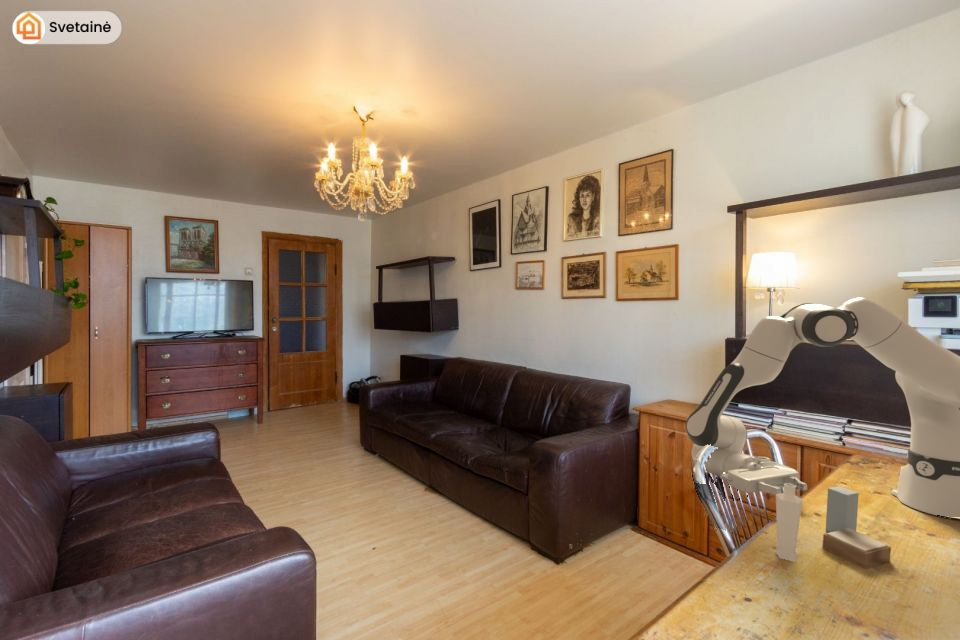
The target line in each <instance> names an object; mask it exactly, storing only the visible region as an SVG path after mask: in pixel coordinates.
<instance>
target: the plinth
mask: <svg viewBox="0 0 960 640" xmlns="http://www.w3.org/2000/svg"><path fill="white" fill-rule="evenodd" d="M822 536H823V537H822V548H823V549H825V550H827V551H829V552H831V553H833V554H835V555H837V556H839V557H841V558H843V559H845V560H847V561H849V562H852V563H853V564H856V565H857V566H859V567H862V568H863V569H868V568H871V567H875V566H879V565H881V564H885V563H888V562H890V561H891V552H892V551H891V549H892V547H891V546H890V545H888V544H886V543H884V542H881V541H879V540H876V539H875V538H872V537H870V536H868V535H865V534H863V533H861V532H859V531H857V530H856V531H854V530H851V529H849V528H847V529H843V530H838V531H834V532H826V533H823V535H822Z"/></svg>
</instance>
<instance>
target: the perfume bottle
mask: <svg viewBox="0 0 960 640" xmlns="http://www.w3.org/2000/svg"><path fill="white" fill-rule="evenodd" d="M802 505H803V499H802V498H800V497H799V496H797V495H796V485H793V484H790V483H784V487H783V492H781V493H780V494H776V495H775V506H776V507H775V508H776V509H775V511H776V515H775V516H776V539H777V541H776V543H777V544H776V545H777V546H776V547H775V552H774V553H775V555H776V556H777V555H778V556H777V557H778V558H779V559H781V560H784V559H785V560H786V561H788V560H789V562H792V563H794V562H796V561H797V560H798V555H797V550H796V549H797V543H798V534H799V527H800V520H801V513H802ZM785 560H784V561H785Z"/></svg>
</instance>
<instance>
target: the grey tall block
mask: <svg viewBox="0 0 960 640" xmlns="http://www.w3.org/2000/svg"><path fill="white" fill-rule="evenodd" d="M859 495H860V494H859V492H857V491H855V490H851V489H849V488H846V487H843V486H839V485H836V486H832V487H828V488H827V500H826V517H825V519H826V520H825V531H826V532H827V533H830V532H834V531H838V530H843V529H847V528H849V529H851V530H854V531H856V532H857V526H858V508H859V507H858V506H859Z"/></svg>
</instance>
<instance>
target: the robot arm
mask: <svg viewBox="0 0 960 640" xmlns="http://www.w3.org/2000/svg"><path fill="white" fill-rule="evenodd" d="M849 339H851V340H853V341H854V343H856V344H857V345H858V346H860V347H861V348H863V349H864V351H866V352H868V353H869V354H870V355H871V356H873V357H874V358H875V359H876V360H877V361H879V362H880V363H882V364H883V365H884V366H886V367H887V368H889V369H891V370H892V371H894V372H895V373H894V374H895V377H894V378H895V381H896V383H897V384H898V386H899V387H900V388H901V390H902V392H903V394H904V396H905V400H906V403H907V408H908V411H909V416H910V424H911V425H910V443H909V444H910V446H909V449H907V453H906V463H907V464H906V465H903V466H901V467H900V472H899V478H898V484H897V489H892V490H891V495H893V496H895V497H896V498H897V500H898V501H900V502H901V503H902V504H904V505H906V506H907V507H910V508H912V509H915V510H917V511H920V512H924V513H927V514H930V515H933V516H937V515H940V516H939V517H941V516H949V517H960V355H959V354H956V353H955V352H953V351H951V350H949V349H947V348H945V347H944V346H942V345H940V344H938V343H936V342H934V341H932V340H931V339H929V338H928V337H926V336H924V334H922V333H920V332H919V331H918V330H917V329H915V327H913V326H911V325H910V324H909V323H907V322H906V321H904V319H902V318H901V317H900V316H898V315H896V314H895V313H894V312H892V311H891V310H889V309H888V308H886V307H885V306H883V305H881V304H879V303H877V302H875V301H874V300H871V299H869V298H867V297H866V298H865V297H856V298H851V299H849V300H847V301H845V302H844V303H843V304H841V305H840V306H839V307H833V306H830V305H829V306H828V305H824V304H820V303H819V304H818V303H813V302H812V303H809V302H807V303H801V304H800V303H799V304H797V305H794V306H793V307H791V308H790V309H789V310H788V311H787V312H784V314H782V315H780V316H775V315H771V316H765V317H763V318H760V320H759V321H758V323H757V324H756V325H755V327H754V328H753V329H752V331H751V332H750V334H749V336H748V337H747V339H746V341H745V343H744V346H743V347H742V349H741V350H740V352H739V354H738V355H737V356H736V358H734V360H733V361H732V362H731V363H730V364H728V365H727V366H725V367H724V368H723V369H722V370H721V372H720V373H719V374H718V375H717V378H716V379H715V381H714V383H713V384H712V386H711V387H710V389H709V390H708V391H707V393H706V395H705V396H704V398H703V399H702V401H701V402H700V403H699V405H698V406H697V407H696V408H695V410H693V411H692V412H691V413H690V415H689V416H688V417H687V419H686V422H685V430H686V432H685V433H686V434H687V436H688V438H689V439H690V441H691V442H692V443H693V445H692V448H691V457H692V459H693V461H694V458H695V457H696V455H697V453H698V452H699V451H700V450H701V449H702V448H703V447H704V446H705V445H707V444H708V445H710V444H711V446H714V447H718V449H716V450H714V452H713V453H712V456H711V458H710V459H709V460H708V461H707V462H706V466H705V467H706V470H705V471H706V472H708V473H710V474H712V475H714V476H716V477H719V478H721V479H723V480H725V481H726V482H727V484H728V485H729V486H731V487H733V488H734V489H736V490H738V491H741V492H742V493H744V494H745V493H746V494H752V493H759V492H762V493H766V494H772V495H773V496H776V494H780V493H782V491H783V490H782V488H783V489H784V483H790V484H793V485H796V487H795V490H799V491H801V492H803V491H807V490H808V485H807V483H805V482H803V481H801V480H800V472H798V471H797V470H796V469H794V468H791V467H790V466H787V465H784V464H781V463H779V462H775V461H772V460H771V458H769V457H767V456H758V455H751V454H747V453H746V454H744V453H743V451H744V449H745V446H746V442H747V439H748V431H747V427H746V425H745V423H744V422H743V421H742V420H741V419H739V418H737V417H733V416H729V415H728V416H727V415H724V414H723V413H724V412H725V410H726V409H727V407H728V406H729V405H730V402H731V401H732V400H733V398H734V397H735V395H736V394H737V393H739V392H740V391H742V390H744V389H746V388H751V387H754V386H760V385H765V384H768V383H771V382H773V381H774V380H775V379H776V378H777V377H778V376H779V374H781V371H782V370H783V368H784V366H785V363H786V362H787V360H788V358H789V356H790V353H791V352H792V350H793V349H794V348H795V347H796V346H798V345H799V344H801V343H803V342H804V343H807V344H811V345H814V346H816V347H824V348H825V347H827V348H829V347H834V346H838V345H840V344H842V343H844V342H845V341H847V340H849Z"/></svg>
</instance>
